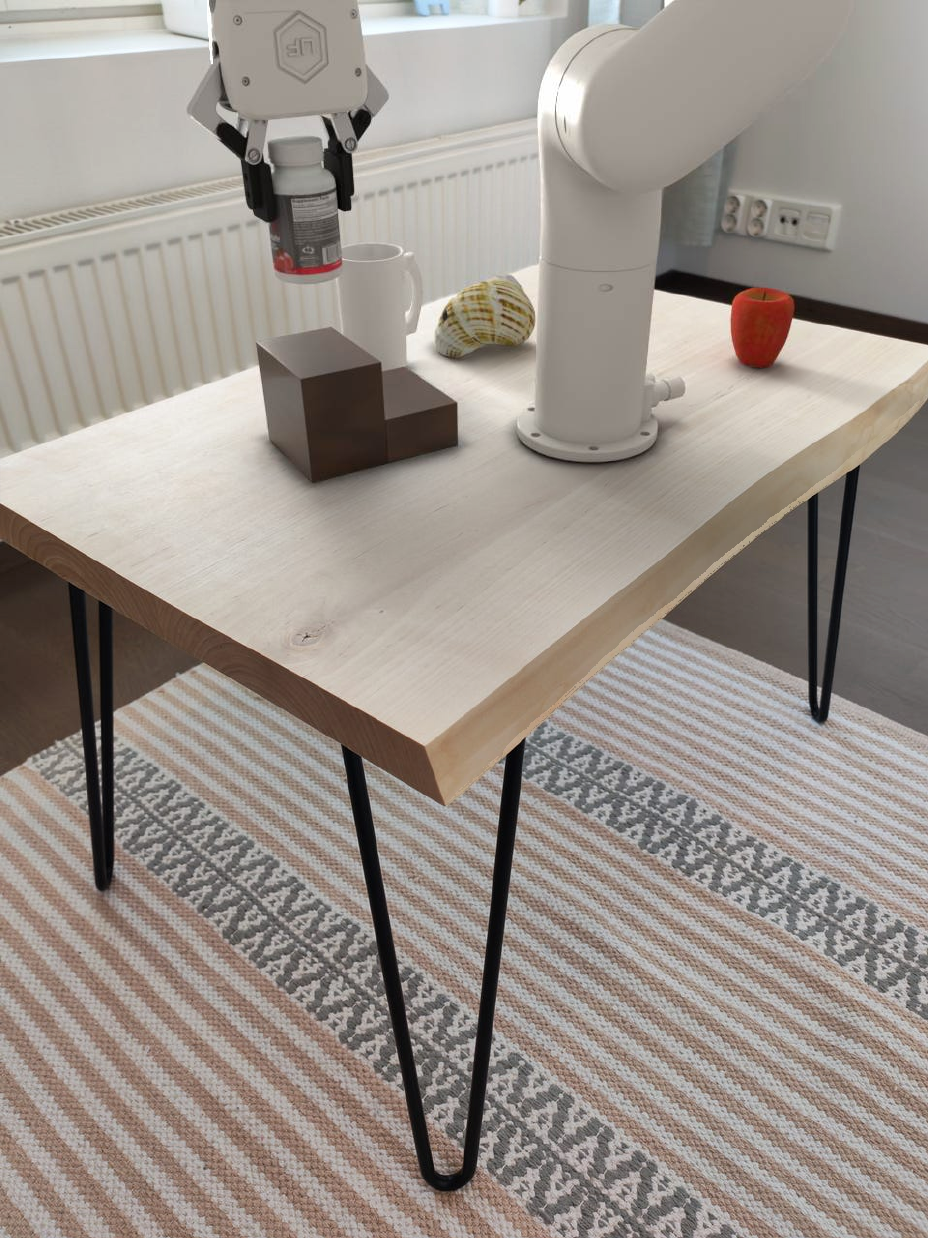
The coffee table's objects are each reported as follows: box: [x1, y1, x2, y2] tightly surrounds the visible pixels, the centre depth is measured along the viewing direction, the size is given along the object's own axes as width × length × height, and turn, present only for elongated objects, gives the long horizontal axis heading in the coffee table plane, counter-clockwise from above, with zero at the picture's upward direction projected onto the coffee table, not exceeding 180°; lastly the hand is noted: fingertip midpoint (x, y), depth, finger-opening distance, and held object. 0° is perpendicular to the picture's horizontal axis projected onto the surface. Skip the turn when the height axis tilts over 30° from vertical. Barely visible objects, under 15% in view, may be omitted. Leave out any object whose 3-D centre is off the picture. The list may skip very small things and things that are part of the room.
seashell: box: [434, 273, 536, 358], centre depth 105 cm, size 10×10×10 cm
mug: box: [335, 242, 424, 371], centre depth 99 cm, size 10×7×12 cm, turn 134°
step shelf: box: [255, 326, 459, 483], centre depth 85 cm, size 14×10×9 cm
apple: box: [729, 286, 795, 369], centre depth 100 cm, size 6×6×8 cm
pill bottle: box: [266, 134, 342, 285], centre depth 74 cm, size 5×5×10 cm
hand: (302, 210), depth 74 cm, fingers closed on pill bottle, 5 cm apart
